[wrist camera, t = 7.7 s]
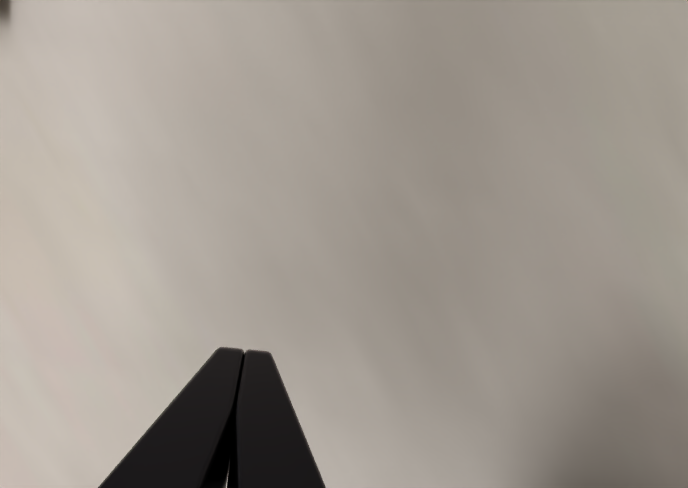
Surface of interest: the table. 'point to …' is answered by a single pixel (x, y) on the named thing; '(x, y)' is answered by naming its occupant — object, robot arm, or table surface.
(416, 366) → the table surface
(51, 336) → the table surface
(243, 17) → the table surface
